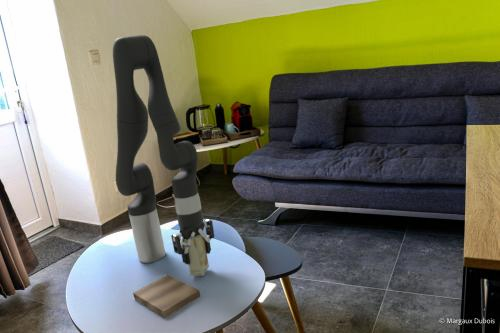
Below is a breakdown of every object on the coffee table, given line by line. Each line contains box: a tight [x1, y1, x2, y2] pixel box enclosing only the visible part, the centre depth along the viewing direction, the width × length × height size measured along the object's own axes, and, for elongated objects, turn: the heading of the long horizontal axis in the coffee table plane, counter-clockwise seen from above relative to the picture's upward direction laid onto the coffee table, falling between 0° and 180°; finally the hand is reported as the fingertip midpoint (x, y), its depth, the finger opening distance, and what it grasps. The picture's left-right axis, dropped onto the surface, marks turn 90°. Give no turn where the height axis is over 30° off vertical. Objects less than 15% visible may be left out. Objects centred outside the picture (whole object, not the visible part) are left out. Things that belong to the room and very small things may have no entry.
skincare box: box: [184, 235, 210, 277], centre depth 132 cm, size 6×4×12 cm
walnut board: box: [132, 274, 201, 319], centre depth 123 cm, size 16×12×2 cm
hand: (197, 258), depth 132 cm, fingers closed on skincare box, 7 cm apart
